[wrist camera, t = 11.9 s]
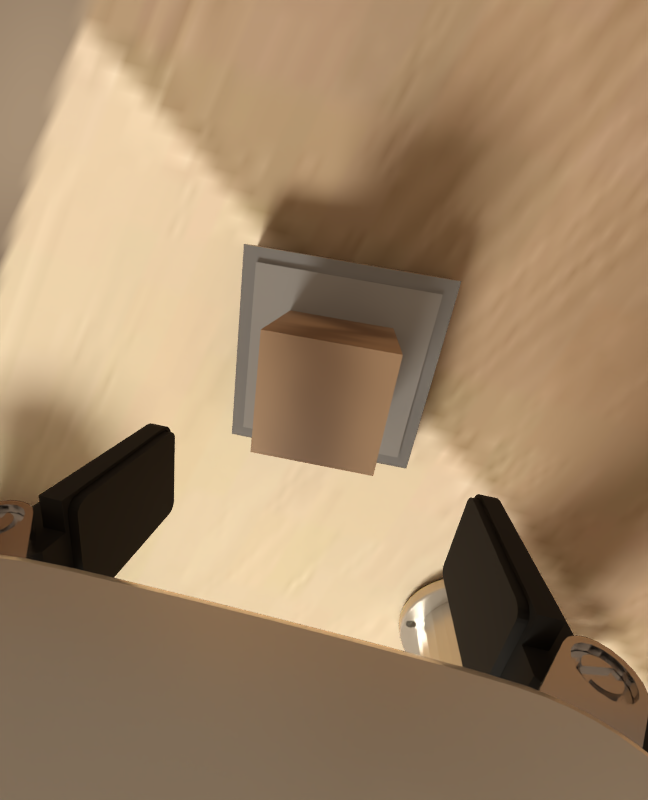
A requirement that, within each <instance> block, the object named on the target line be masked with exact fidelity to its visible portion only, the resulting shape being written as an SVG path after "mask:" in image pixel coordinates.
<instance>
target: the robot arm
mask: <svg viewBox="0 0 648 800" xmlns="http://www.w3.org/2000/svg"><path fill="white" fill-rule="evenodd" d="M174 453H175V436H174V434H173V433H172V432H170V429H169V428H168V427H165V426H160V425H156V424H148V425H146V426H145V427H143V428H141V429H140V430H138V431H137V432H135V433H134V434H132V435H131V436H129V437H128V438H126V439H125V440H123V441H122V442H120V443H118V444H117V445H115V446H114V447H112V448H111V449H109V450H108V451H106V452H105V453H103V454H102V455H100V456H99V457H97V458H95V459H94V460H92V461H91V462H89V463H88V464H86V465H85V466H83V467H82V468H80V469H79V470H77V471H76V472H74V473H72V474H71V475H69V476H68V477H66V478H65V479H63V480H62V481H60V482H59V483H57V484H56V485H54V486H53V487H51V488H49V489H48V490H46V491H45V492H43V493H42V494H40V495H39V501H40V502H39V503H37V504H36V505H34V506H33V507H31V506H30V505H29V504H28V503H25V502H22V501H14V500H7V501H0V800H648V693H647V690H646V688H645V686H644V684H643V682H642V681H641V680H640V678H639V677H638V675H637V674H636V673H635V671H634V670H633V669H632V668H631V667H630V666H629V665H628V664H627V663H626V662H625V661H624V660H623V659H622V658H621V657H619V656H618V655H617V654H615V653H614V652H613V651H612V650H610V649H609V648H607V647H605V646H604V645H602V644H600V643H599V642H597V641H594V640H592V639H589V638H587V637H582V636H577V635H575V636H574V635H573V633H572V631H571V630H570V628H569V626H568V624H567V622H566V620H565V618H564V616H563V615H562V613H561V611H560V609H559V607H558V605H557V604H556V602H555V600H554V598H553V596H552V595H551V593H550V591H549V589H548V587H547V585H546V584H545V582H544V580H543V578H542V576H541V575H540V573H539V571H538V569H537V567H536V565H535V564H534V562H533V560H532V558H531V556H530V555H529V553H528V551H527V549H526V547H525V545H524V544H523V542H522V540H521V538H520V536H519V535H518V533H517V531H516V529H515V527H514V526H513V524H512V522H511V520H510V518H509V516H508V515H507V513H506V511H505V509H504V507H503V506H502V504H501V502H500V500H499V499H497V498H493V497H489V496H484V495H480V494H478V495H476V496H475V498H469V499H468V501H467V504H466V506H465V509H464V512H463V515H462V517H461V520H460V523H459V525H458V528H457V531H456V533H455V536H454V539H453V542H452V544H451V547H450V550H449V552H448V555H447V558H446V561H445V563H444V566H443V579H441V580H439V581H436V582H433V583H431V584H429V585H427V586H425V587H423V588H422V589H420V590H419V591H417V592H416V593H415V594H414V595H413V596H411V597H410V599H409V600H408V601H407V603H406V604H405V605H404V607H403V609H402V612H401V614H400V619H399V632H400V639H401V643H402V646H403V648H404V650H405V651H402V650H398V649H394V648H390V647H387V646H383V645H379V644H375V643H371V642H367V641H363V640H360V639H356V638H352V637H348V636H344V635H340V634H336V633H333V632H329V631H325V630H321V629H317V628H313V627H309V626H305V625H301V624H297V623H293V622H289V621H286V620H282V619H278V618H274V617H270V616H266V615H262V614H258V613H254V612H250V611H246V610H242V609H238V608H234V607H230V606H226V605H222V604H218V603H214V602H210V601H206V600H202V599H198V598H194V597H190V596H186V595H182V594H178V593H174V592H170V591H166V590H162V589H158V588H154V587H149V586H145V585H141V584H137V583H133V582H129V581H125V580H121V579H117V578H114V577H115V576H116V575H117V573H118V572H119V571H120V570H121V569H122V568H123V566H124V565H125V564H126V563H127V562H128V561H129V560H130V558H131V557H132V556H133V555H134V554H135V553H136V551H137V550H138V549H139V548H140V547H141V546H142V545H143V543H144V542H145V541H146V540H147V539H148V538H149V536H150V535H151V534H152V533H153V532H154V531H155V530H156V528H157V527H158V526H159V525H160V524H161V523H162V522H163V520H164V519H165V518H166V517H167V516H168V515H169V513H170V512H171V510H172V507H173V504H174Z"/></svg>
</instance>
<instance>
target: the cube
mask: <svg viewBox="0 0 648 800" xmlns="http://www.w3.org/2000/svg"><path fill="white" fill-rule="evenodd" d="M402 356H403V354H402V351H401V348H400V345H399V343H398V340H397V337H396V334H395V331H394V329H393V328H389V327H383V326H377V325H371V324H366V323H360V322H354V321H348V320H343V319H337V318H331V317H325V316H320V315H314V314H308V313H303V312H297V311H291V310H290V311H288V312H287V313H285V314H284V315H282V316H281V317H279V318H278V319H276V320H275V321H273V322H272V323H270V324H269V325H267V326H265V327H264V328H262V329H261V332H260V345H259V357H258V369H257V381H256V393H255V406H254V418H253V430H252V442H251V452H254V453H259V454H264V455H269V456H275V457H280V458H285V459H290V460H295V461H300V462H305V463H310V464H315V465H320V466H325V467H330V468H335V469H341V470H346V471H351V472H356V473H361V474H366V475H371V476H373V474H374V470H375V466H376V462H377V458H378V454H379V450H380V446H381V442H382V438H383V433H384V429H385V425H386V421H387V417H388V413H389V409H390V405H391V401H392V397H393V393H394V389H395V385H396V381H397V377H398V373H399V369H400V364H401V360H402Z"/></svg>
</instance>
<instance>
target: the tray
mask: <svg viewBox="0 0 648 800" xmlns="http://www.w3.org/2000/svg"><path fill="white" fill-rule="evenodd" d="M460 284H461V281H457V280H453V279H448V278H442V277H437V276H431V275H425V274H419V273H413V272H408V271H402V270H396V269H390V268H384V267H379V266H373V265H367V264H361V263H355V262H350V261H344V260H338V259H332V258H326V257H321V256H315V255H309V254H303V253H297V252H292V251H286V250H280V249H274V248H269V247H263V246H257V245H248V244H244V254H243V269H242V285H241V301H240V316H239V332H238V348H237V364H236V379H235V395H234V411H233V426H232V434H236V435H241V436H246V437H251V438H252V430H253V418H254V406H255V393H256V381H257V369H258V357H259V345H260V332H261V329H262V328H264V327H265V326H267V325H269V324H270V323H272V322H273V321H275V320H276V319H278V318H279V317H281V316H282V315H284V314H285V313H287V312H288V311H290V310H291V311H297V312H303V313H308V314H314V315H320V316H325V317H331V318H337V319H343V320H348V321H354V322H360V323H366V324H371V325H377V326H383V327H389V328H393V329H394V331H395V334H396V337H397V340H398V343H399V345H400V348H401V351H402V354H403V356H402V360H401V364H400V369H399V373H398V377H397V381H396V385H395V389H394V393H393V397H392V401H391V405H390V409H389V413H388V417H387V421H386V425H385V429H384V433H383V438H382V442H381V446H380V450H379V454H378V458H377V462H376V463H381V464H386V465H391V466H396V467H401V468H406V467H407V464H408V461H409V457H410V454H411V450H412V447H413V444H414V440H415V437H416V434H417V430H418V427H419V423H420V420H421V417H422V413H423V410H424V406H425V403H426V400H427V396H428V393H429V389H430V386H431V383H432V379H433V376H434V372H435V369H436V366H437V362H438V359H439V355H440V352H441V349H442V345H443V342H444V339H445V335H446V332H447V328H448V325H449V322H450V318H451V315H452V311H453V308H454V305H455V301H456V298H457V294H458V291H459V288H460Z"/></svg>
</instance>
